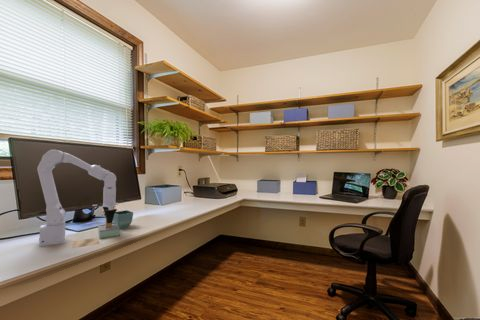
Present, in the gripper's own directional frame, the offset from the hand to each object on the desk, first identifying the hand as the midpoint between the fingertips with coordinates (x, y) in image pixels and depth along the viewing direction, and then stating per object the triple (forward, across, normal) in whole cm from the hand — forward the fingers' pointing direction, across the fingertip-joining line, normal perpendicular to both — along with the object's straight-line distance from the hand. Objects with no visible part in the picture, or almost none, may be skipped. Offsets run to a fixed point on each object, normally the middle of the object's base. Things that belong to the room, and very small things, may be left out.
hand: (109, 221), depth 119 cm
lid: (+4, 0, 0) cm, 4 cm away
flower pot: (+8, +11, -8) cm, 16 cm away
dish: (+7, 0, 0) cm, 7 cm away
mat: (+7, -7, +10) cm, 14 cm away
